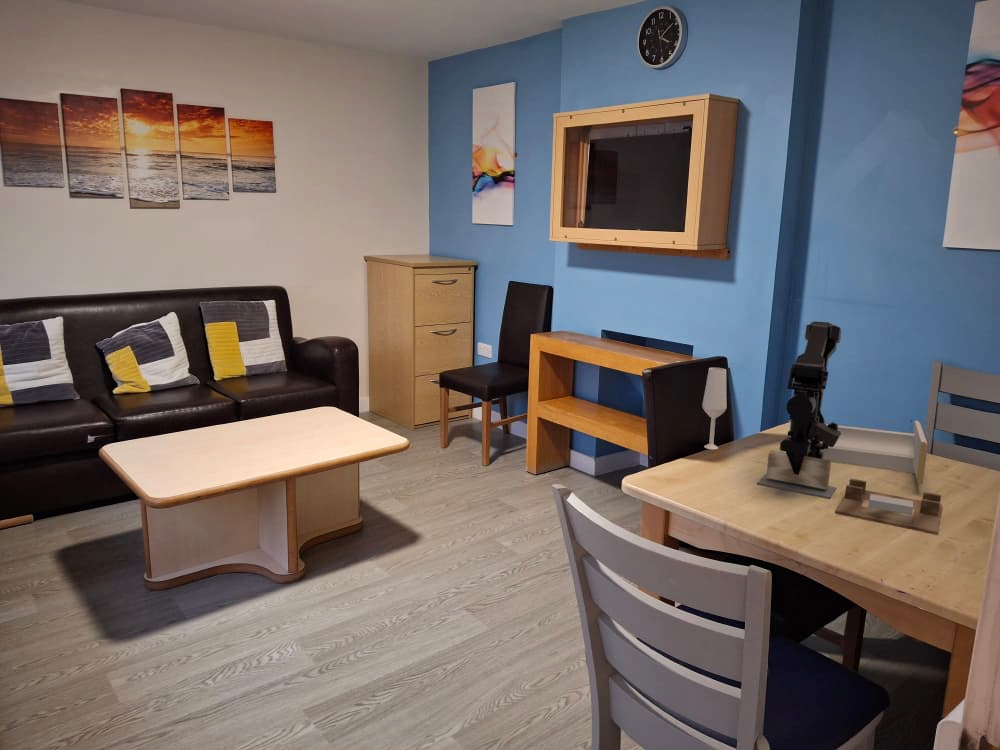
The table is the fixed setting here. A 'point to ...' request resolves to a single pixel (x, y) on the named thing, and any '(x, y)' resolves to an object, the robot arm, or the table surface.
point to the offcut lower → (885, 513)
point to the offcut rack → (924, 510)
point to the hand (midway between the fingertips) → (797, 472)
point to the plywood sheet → (810, 473)
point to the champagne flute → (715, 399)
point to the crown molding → (873, 449)
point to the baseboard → (919, 452)
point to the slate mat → (797, 487)
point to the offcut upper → (891, 504)
